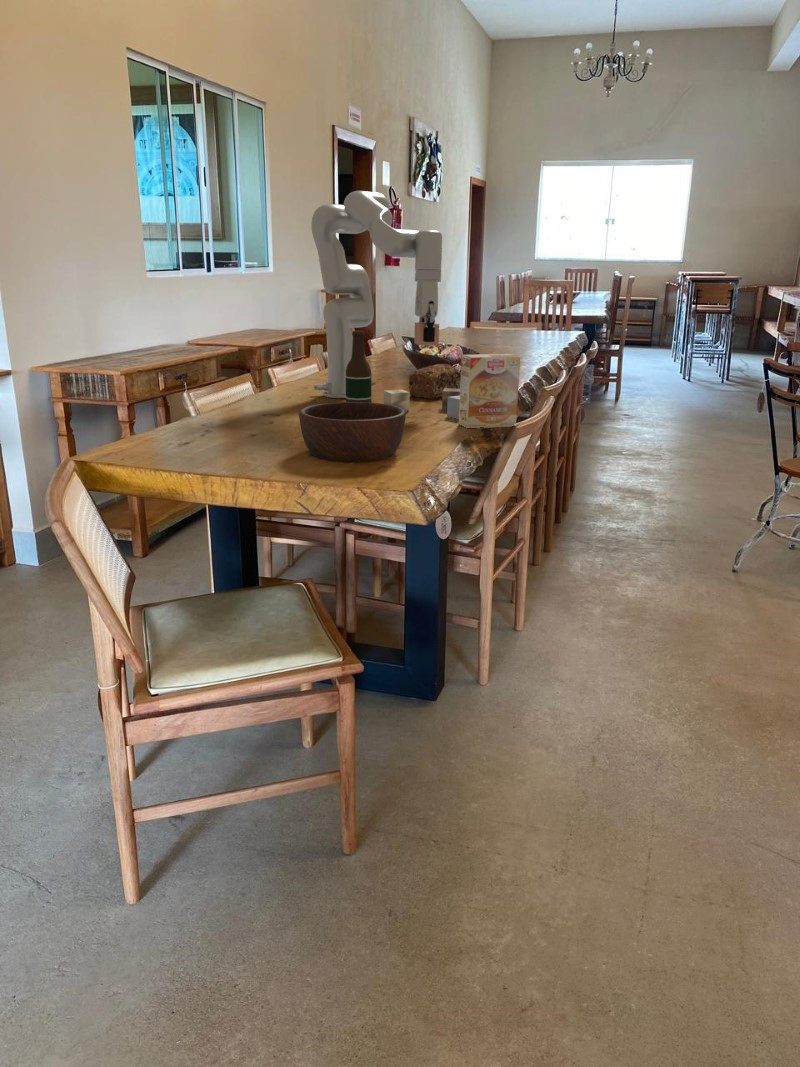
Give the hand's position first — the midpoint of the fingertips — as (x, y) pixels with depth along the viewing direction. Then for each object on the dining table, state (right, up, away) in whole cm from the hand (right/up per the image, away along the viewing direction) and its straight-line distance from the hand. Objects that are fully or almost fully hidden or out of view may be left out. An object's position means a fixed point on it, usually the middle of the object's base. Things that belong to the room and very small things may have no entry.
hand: (426, 340), depth 233 cm
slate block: (+10, -23, 0) cm, 25 cm away
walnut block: (+9, -18, +14) cm, 24 cm away
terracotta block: (0, -1, 0) cm, 1 cm away
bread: (+4, -9, +40) cm, 41 cm away
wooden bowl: (-19, -38, -45) cm, 62 cm away
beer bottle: (-20, -21, +5) cm, 29 cm away
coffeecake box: (+17, -27, -11) cm, 34 cm away
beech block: (-9, -20, +9) cm, 23 cm away
